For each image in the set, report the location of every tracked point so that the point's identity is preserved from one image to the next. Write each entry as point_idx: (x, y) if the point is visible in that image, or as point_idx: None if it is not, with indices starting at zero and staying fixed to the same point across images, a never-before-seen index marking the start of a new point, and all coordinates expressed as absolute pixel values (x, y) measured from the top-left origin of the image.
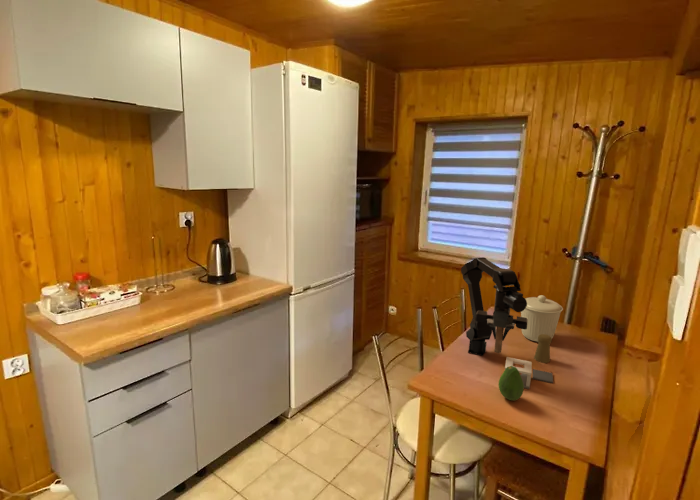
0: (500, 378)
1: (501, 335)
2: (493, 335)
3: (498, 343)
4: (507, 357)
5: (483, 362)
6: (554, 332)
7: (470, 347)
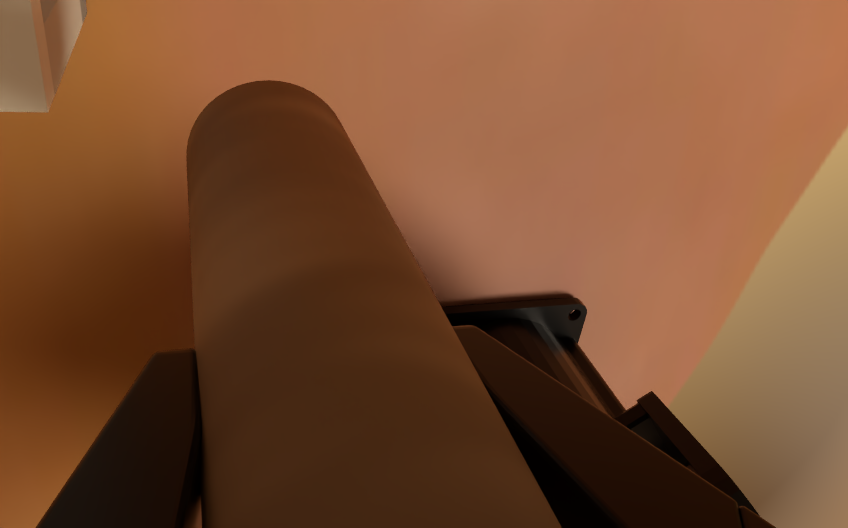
0: None
1: (278, 463)
2: (582, 398)
3: (312, 199)
4: (19, 88)
5: (414, 161)
6: None
7: (579, 364)
